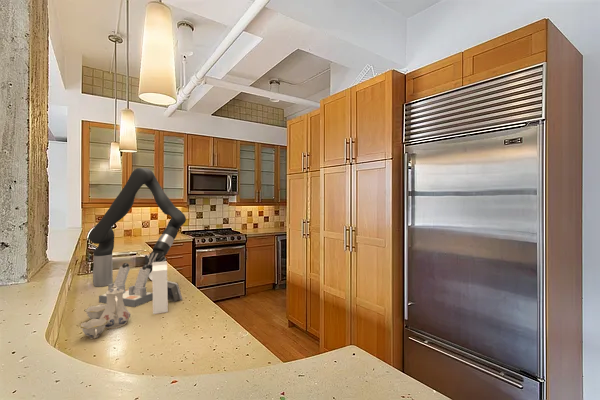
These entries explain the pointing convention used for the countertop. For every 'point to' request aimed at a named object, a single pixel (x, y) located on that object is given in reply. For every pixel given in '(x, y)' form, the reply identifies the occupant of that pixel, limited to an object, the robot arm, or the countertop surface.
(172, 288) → the electrical switch
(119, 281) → the lever inner
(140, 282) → the lever outer
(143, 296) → the switch panel
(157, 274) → the milk
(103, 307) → the chinaware
